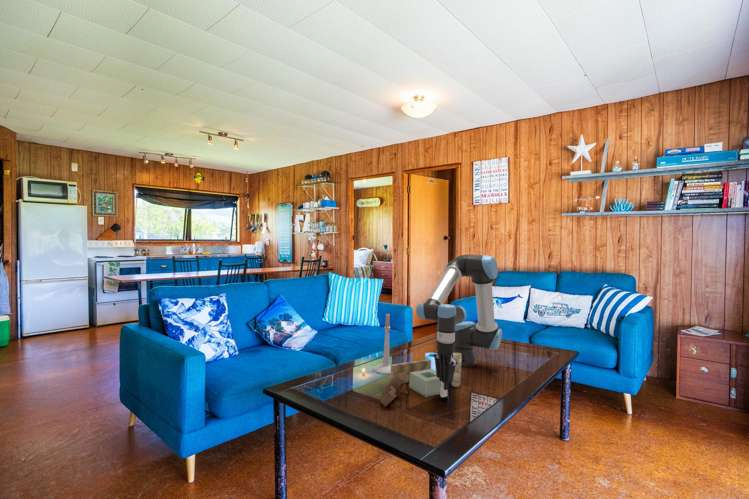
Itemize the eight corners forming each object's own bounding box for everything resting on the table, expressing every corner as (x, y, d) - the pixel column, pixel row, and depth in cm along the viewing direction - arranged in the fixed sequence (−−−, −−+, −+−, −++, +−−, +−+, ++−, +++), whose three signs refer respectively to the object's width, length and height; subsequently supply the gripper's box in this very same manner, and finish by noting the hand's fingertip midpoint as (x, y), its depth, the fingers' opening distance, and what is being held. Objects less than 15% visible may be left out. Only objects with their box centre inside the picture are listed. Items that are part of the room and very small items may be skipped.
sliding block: (430, 383, 184) (430, 369, 184) (447, 392, 174) (447, 377, 174) (409, 387, 178) (409, 372, 178) (425, 397, 168) (426, 381, 168)
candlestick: (398, 367, 211) (400, 311, 210) (397, 375, 198) (399, 316, 198) (374, 365, 212) (376, 310, 212) (372, 373, 199) (374, 314, 199)
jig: (427, 379, 194) (428, 358, 194) (456, 393, 176) (457, 371, 176) (390, 385, 183) (390, 364, 183) (416, 402, 165) (417, 379, 165)
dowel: (456, 385, 186) (457, 352, 186) (462, 388, 183) (463, 354, 182) (449, 386, 184) (451, 353, 184) (455, 389, 181) (456, 355, 180)
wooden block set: (385, 413, 159) (400, 398, 156) (371, 395, 162) (386, 381, 158) (404, 396, 175) (418, 383, 171) (391, 381, 178) (405, 367, 174)
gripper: (429, 338, 170) (427, 392, 171) (449, 346, 159) (447, 403, 159) (442, 336, 174) (440, 389, 174) (463, 344, 163) (460, 400, 163)
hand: (443, 396), depth 167 cm, fingers closed
